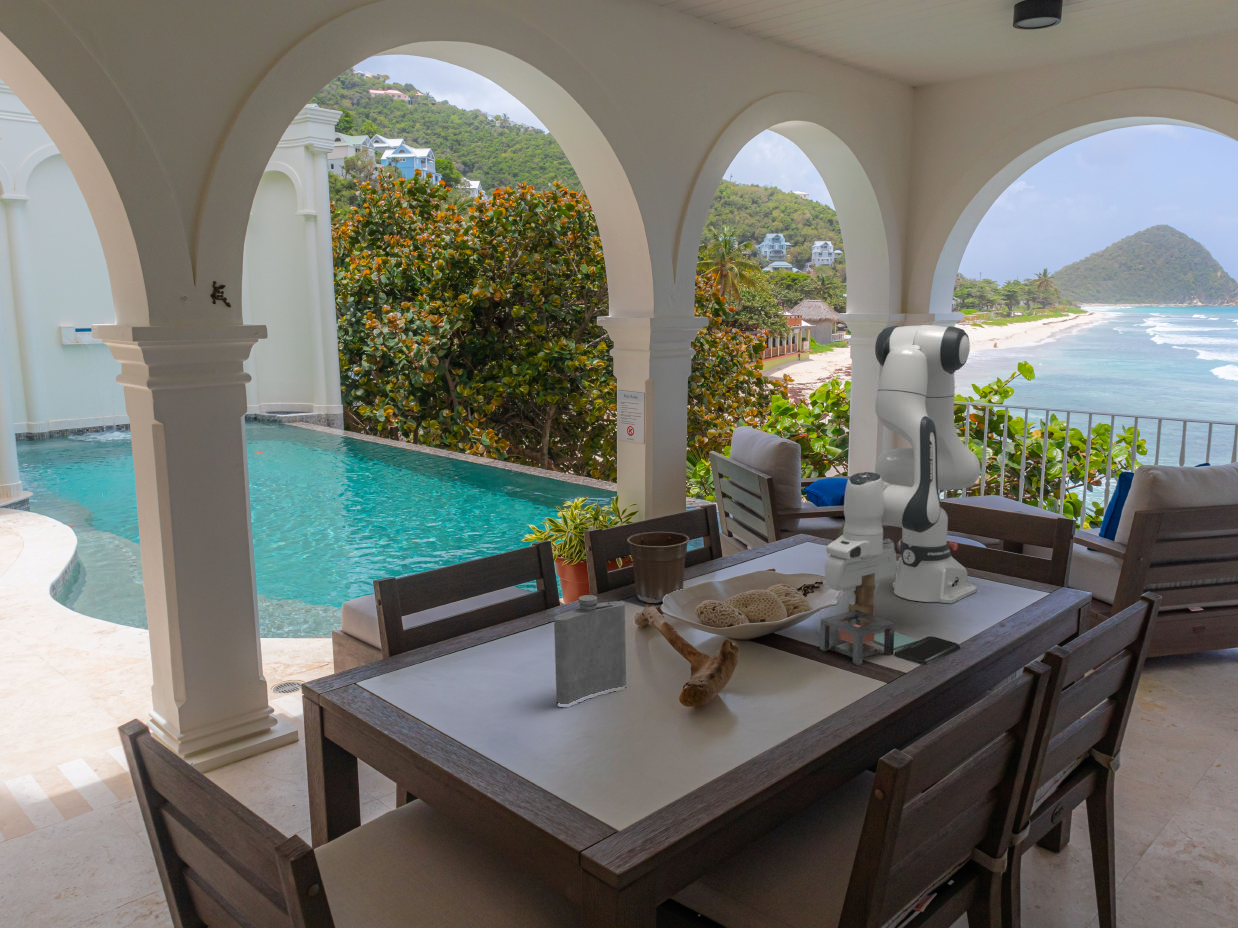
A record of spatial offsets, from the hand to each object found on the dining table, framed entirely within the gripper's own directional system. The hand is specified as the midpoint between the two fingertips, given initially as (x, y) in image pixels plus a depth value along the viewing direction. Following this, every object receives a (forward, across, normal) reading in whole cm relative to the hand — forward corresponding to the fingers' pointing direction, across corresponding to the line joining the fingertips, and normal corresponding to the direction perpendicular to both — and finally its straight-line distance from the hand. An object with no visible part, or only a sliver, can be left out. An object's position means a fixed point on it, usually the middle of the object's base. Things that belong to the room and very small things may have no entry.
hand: (861, 601), depth 204 cm
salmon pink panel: (+4, +11, +8) cm, 14 cm away
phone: (+8, -2, +17) cm, 19 cm away
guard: (+7, +10, +8) cm, 15 cm away
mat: (+7, -1, +8) cm, 11 cm away
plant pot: (+7, +24, -48) cm, 54 cm away
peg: (+7, 0, 0) cm, 7 cm away
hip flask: (+7, +70, -5) cm, 71 cm away
